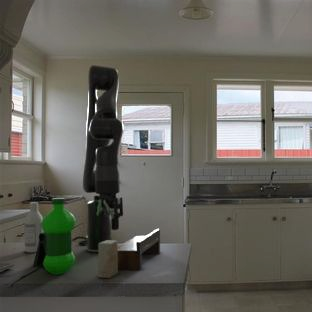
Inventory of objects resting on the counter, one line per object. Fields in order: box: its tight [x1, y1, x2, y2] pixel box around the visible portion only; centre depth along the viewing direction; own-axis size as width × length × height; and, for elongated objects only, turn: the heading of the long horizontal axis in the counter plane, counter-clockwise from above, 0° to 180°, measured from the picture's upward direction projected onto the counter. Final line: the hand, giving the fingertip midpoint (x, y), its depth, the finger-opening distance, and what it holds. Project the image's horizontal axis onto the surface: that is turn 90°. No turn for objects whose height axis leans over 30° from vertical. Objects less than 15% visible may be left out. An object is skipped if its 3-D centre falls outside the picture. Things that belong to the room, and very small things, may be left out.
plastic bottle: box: [42, 197, 76, 275], centre depth 124 cm, size 10×10×25 cm
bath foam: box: [24, 201, 44, 253], centre depth 152 cm, size 7×7×20 cm
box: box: [97, 239, 119, 279], centre depth 120 cm, size 5×4×11 cm
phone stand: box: [32, 232, 46, 268], centre depth 132 cm, size 9×6×12 cm, turn 67°
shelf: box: [118, 228, 161, 271], centre depth 137 cm, size 10×22×10 cm, turn 174°
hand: (108, 228), depth 120 cm, fingers open, 8 cm apart
